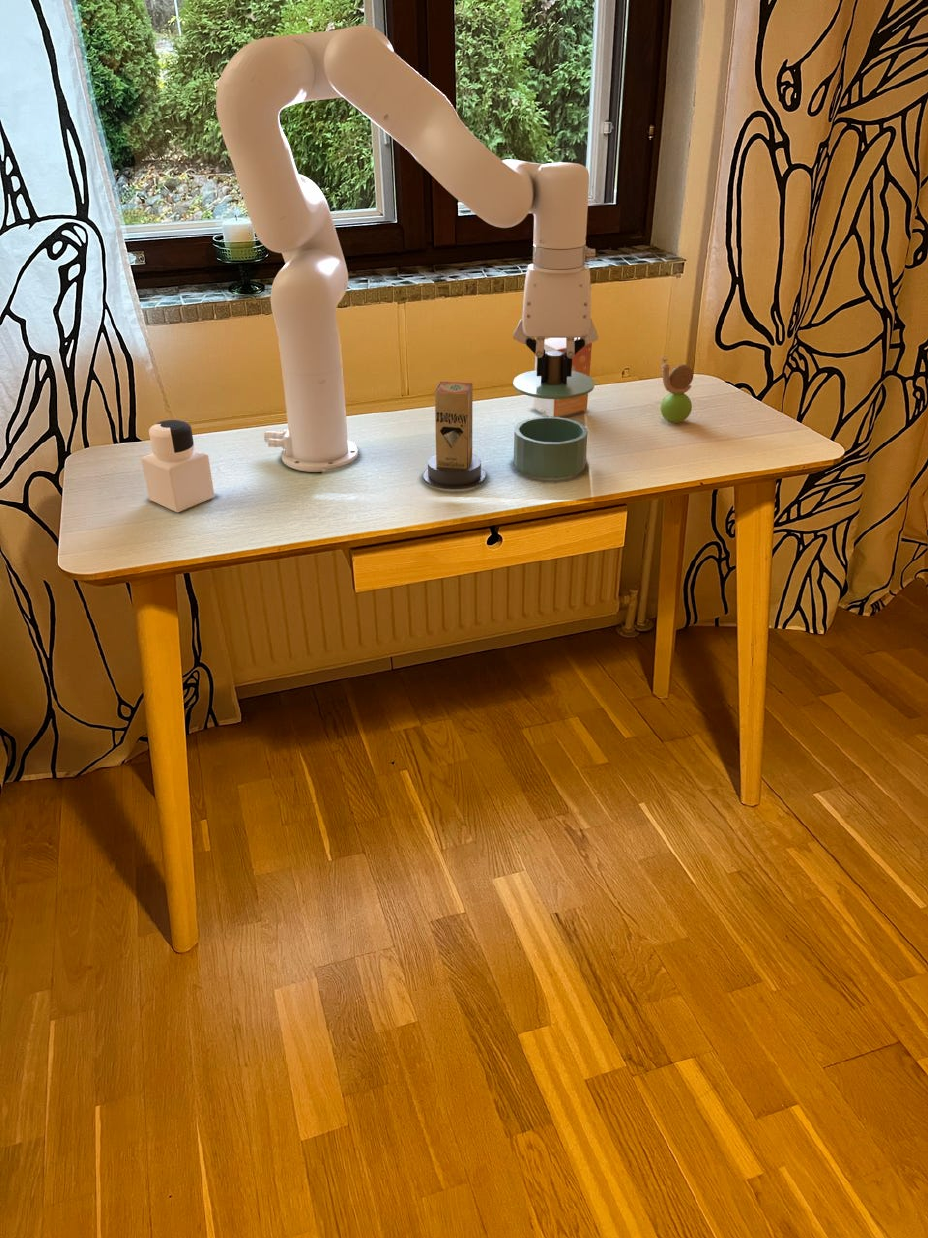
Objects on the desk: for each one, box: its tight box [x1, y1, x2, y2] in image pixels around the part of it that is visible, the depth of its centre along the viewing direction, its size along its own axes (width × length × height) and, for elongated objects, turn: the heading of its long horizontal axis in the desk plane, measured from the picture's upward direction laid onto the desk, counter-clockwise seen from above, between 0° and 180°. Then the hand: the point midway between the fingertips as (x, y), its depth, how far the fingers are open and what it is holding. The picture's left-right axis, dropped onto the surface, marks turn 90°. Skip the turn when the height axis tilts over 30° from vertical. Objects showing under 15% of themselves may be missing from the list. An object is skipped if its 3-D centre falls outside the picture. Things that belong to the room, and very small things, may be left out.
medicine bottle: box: [141, 419, 215, 513], centre depth 145 cm, size 7×7×12 cm
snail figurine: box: [660, 356, 694, 424], centre depth 171 cm, size 5×6×12 cm
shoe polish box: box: [434, 381, 473, 469], centre depth 149 cm, size 5×5×12 cm
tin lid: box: [512, 351, 595, 399], centre depth 150 cm, size 13×13×6 cm
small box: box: [532, 338, 593, 417], centre depth 176 cm, size 8×6×13 cm
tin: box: [513, 416, 588, 479], centre depth 157 cm, size 12×12×6 cm
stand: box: [422, 453, 487, 491], centre depth 154 cm, size 10×10×3 cm
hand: (553, 379), depth 151 cm, fingers closed on tin lid, 2 cm apart
